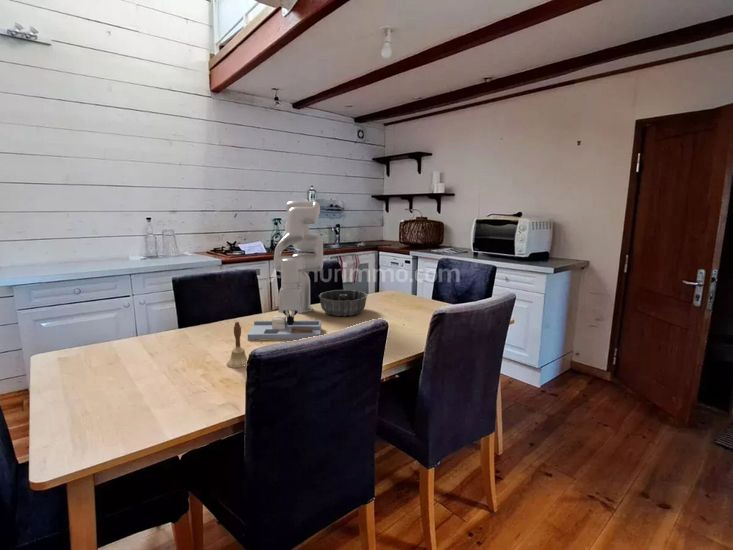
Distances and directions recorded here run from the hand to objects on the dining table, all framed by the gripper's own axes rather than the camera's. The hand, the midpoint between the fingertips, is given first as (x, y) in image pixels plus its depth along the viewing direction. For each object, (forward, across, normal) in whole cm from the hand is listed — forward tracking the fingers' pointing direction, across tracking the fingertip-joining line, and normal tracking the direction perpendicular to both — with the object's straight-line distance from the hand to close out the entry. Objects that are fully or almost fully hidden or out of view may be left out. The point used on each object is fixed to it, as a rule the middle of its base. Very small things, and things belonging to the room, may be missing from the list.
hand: (290, 324), depth 180 cm
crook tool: (+1, -6, +8) cm, 10 cm away
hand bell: (+4, +15, +36) cm, 39 cm away
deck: (+4, +2, +3) cm, 5 cm away
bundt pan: (+4, -25, -33) cm, 41 cm away
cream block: (+1, +5, 0) cm, 5 cm away
